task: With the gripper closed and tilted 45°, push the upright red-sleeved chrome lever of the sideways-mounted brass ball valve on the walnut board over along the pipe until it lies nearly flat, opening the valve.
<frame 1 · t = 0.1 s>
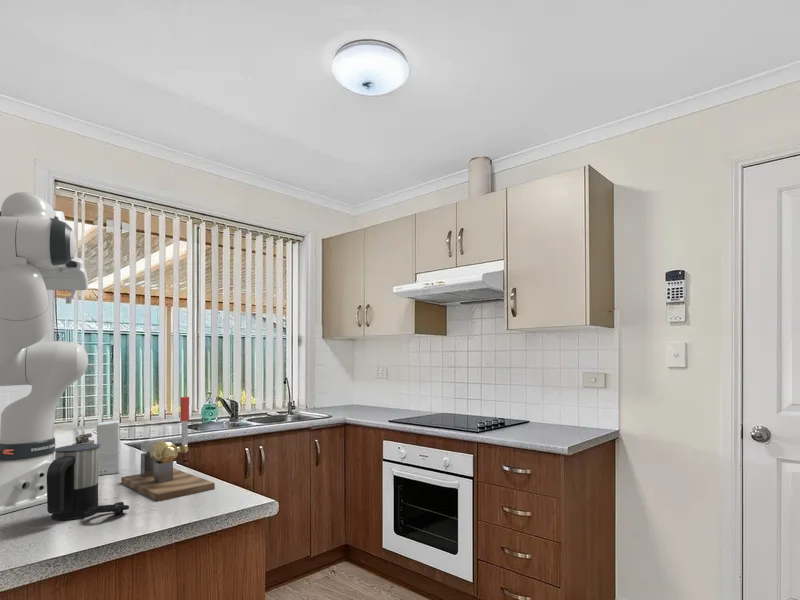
hand: (51, 303, 171), 52 cm above the countertop, tool tilted 20°, fingers open, 8 cm apart
skincare box: (108, 472, 160), on the countertop
valve lever: (184, 424, 146), point 15 cm above the countertop, hinge at 0.0°
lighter: (82, 467, 170), on the countertop
valve rig: (163, 486, 141), on the countertop
milk frother: (90, 516, 118), on the countertop
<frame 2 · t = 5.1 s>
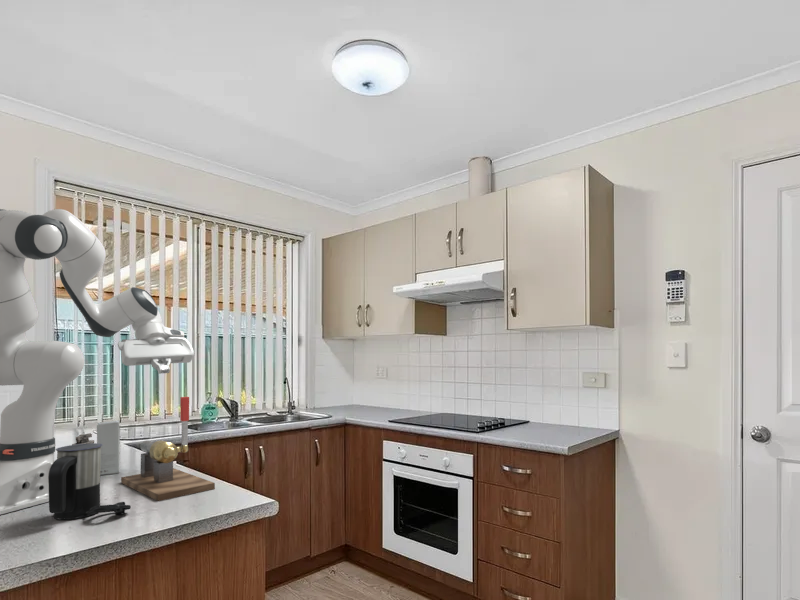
hand: (164, 371, 158), 29 cm above the countertop, tool tilted 45°, fingers closed
nothing on the countertop moved.
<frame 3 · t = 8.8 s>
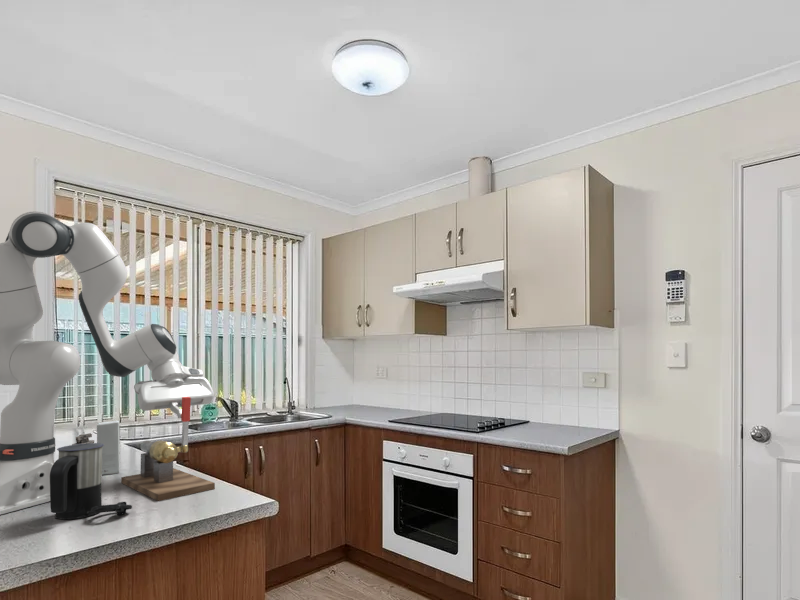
hand: (184, 416, 147), 17 cm above the countertop, tool tilted 45°, fingers closed, pressing on valve lever
valve lever: (185, 424, 146), point 15 cm above the countertop, hinge at 4.6°, touching gripper
everything else where it was.
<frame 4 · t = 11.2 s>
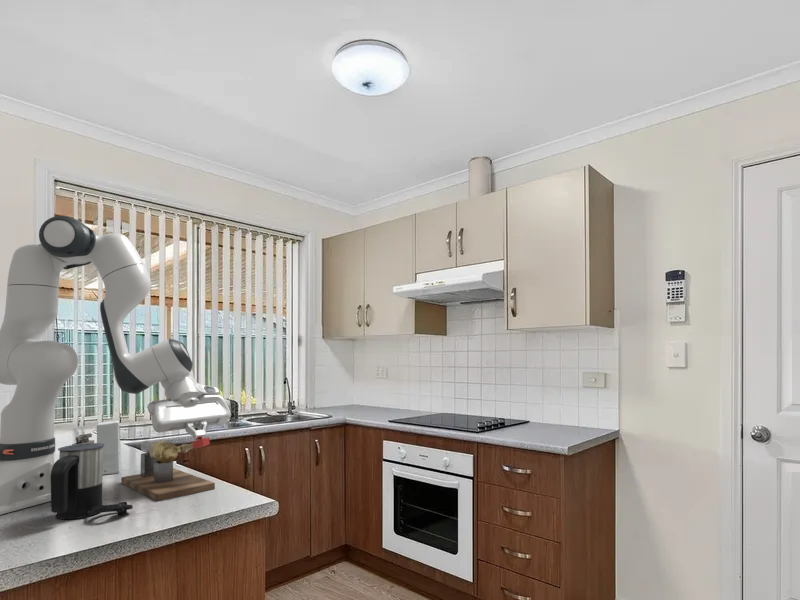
hand: (200, 438, 139), 13 cm above the countertop, tool tilted 45°, fingers closed, pressing on valve lever
valve lever: (194, 445, 141), point 10 cm above the countertop, hinge at 76.4°, touching gripper
everything else where it was.
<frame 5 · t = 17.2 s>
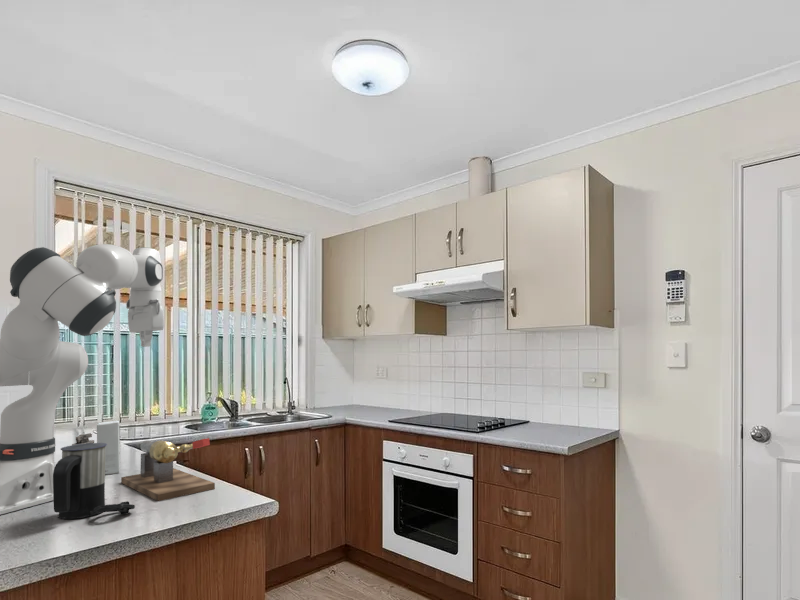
hand: (145, 346, 163), 37 cm above the countertop, tool pointing down, fingers closed
valve lever: (194, 445, 141), point 10 cm above the countertop, hinge at 77.0°
at the end: valve lever at +77° (first picture: +0°); skincare box moved 0.2 cm from its start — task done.
